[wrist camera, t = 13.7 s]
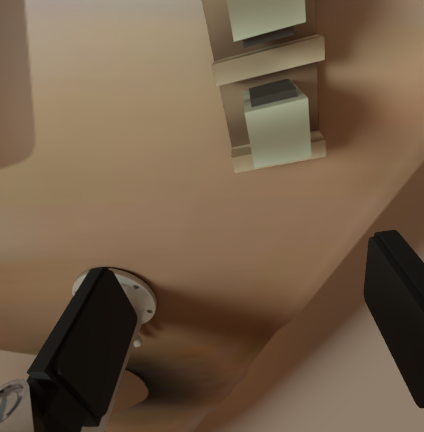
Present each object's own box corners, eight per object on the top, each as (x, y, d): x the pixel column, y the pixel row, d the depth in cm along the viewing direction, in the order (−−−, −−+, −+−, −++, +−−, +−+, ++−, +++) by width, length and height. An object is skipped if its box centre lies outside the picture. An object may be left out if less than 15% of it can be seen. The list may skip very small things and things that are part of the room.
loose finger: (295, 126, 25) (311, 157, 20) (251, 136, 26) (254, 168, 20) (290, 73, 23) (307, 89, 17) (242, 85, 24) (243, 105, 18)
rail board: (316, 142, 27) (341, 180, 20) (235, 157, 28) (233, 198, 22) (308, -101, 18) (348, -172, 11) (190, -59, 20) (166, -100, 13)
